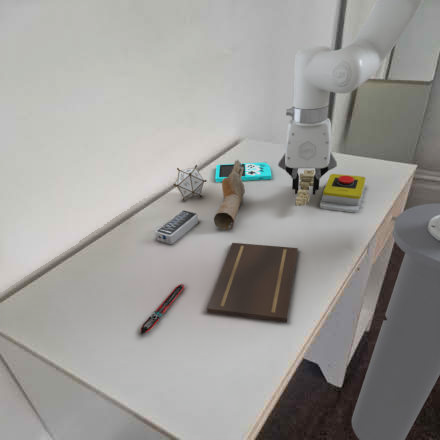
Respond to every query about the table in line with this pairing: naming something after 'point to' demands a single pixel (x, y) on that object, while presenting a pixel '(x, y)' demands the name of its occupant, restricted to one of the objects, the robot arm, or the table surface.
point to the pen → (161, 309)
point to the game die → (189, 182)
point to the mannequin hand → (230, 197)
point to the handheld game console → (245, 171)
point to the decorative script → (304, 187)
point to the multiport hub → (177, 227)
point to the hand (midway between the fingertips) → (305, 191)
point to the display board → (255, 282)
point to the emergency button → (343, 193)
